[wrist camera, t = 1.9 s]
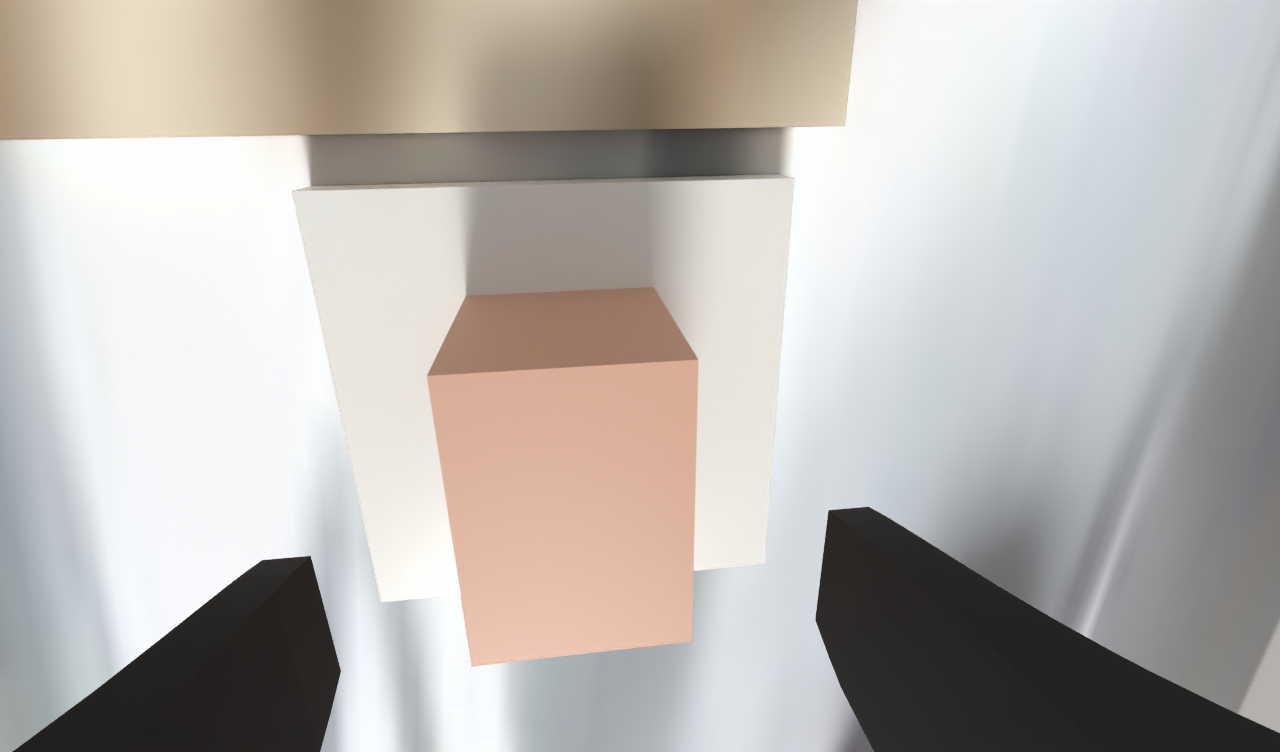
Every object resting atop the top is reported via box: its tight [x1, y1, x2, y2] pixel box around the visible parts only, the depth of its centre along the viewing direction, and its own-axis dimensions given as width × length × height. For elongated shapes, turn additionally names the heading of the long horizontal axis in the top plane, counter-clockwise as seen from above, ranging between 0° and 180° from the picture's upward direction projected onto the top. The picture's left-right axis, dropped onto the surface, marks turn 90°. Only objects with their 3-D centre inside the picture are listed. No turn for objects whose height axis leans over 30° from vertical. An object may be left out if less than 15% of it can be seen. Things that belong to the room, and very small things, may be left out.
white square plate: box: [292, 174, 794, 602], centre depth 15 cm, size 10×10×1 cm
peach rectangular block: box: [427, 287, 698, 666], centre depth 12 cm, size 4×6×4 cm
